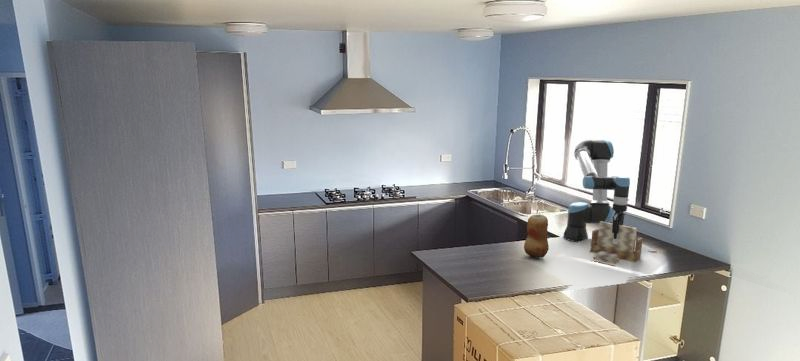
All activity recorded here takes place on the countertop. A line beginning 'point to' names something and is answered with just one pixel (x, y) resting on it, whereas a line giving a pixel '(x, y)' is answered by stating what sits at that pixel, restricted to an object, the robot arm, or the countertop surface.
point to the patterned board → (624, 239)
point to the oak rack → (620, 254)
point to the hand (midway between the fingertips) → (615, 243)
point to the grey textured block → (606, 261)
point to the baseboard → (647, 248)
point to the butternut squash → (537, 236)
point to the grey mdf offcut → (607, 256)
